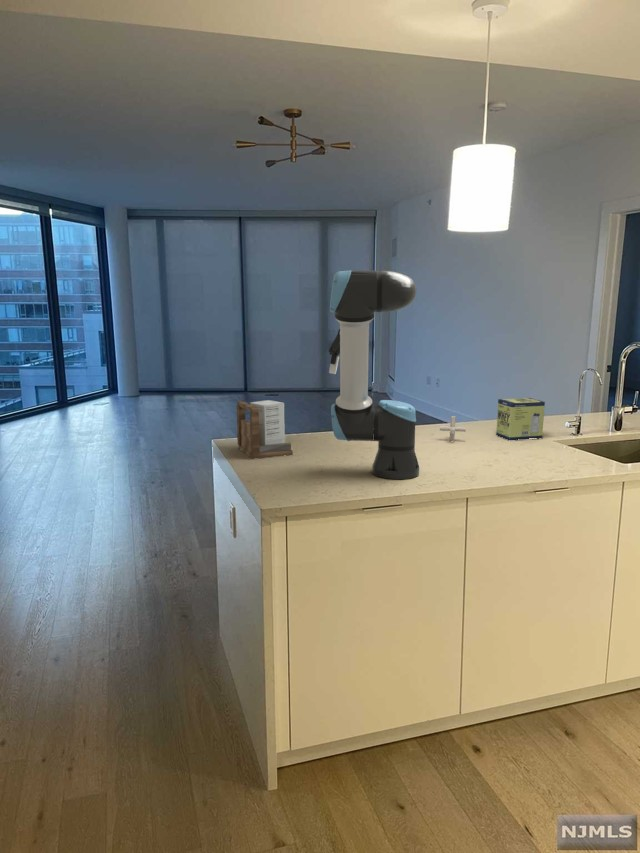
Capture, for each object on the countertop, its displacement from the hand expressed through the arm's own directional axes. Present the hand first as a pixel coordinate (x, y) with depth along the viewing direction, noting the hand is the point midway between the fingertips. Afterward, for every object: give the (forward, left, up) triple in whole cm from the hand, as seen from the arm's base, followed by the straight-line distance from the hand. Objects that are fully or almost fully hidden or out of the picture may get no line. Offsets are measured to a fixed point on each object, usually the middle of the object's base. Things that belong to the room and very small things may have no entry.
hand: (342, 376), depth 223 cm
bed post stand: (+6, +29, -27) cm, 40 cm away
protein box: (-13, -75, -28) cm, 81 cm away
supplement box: (+6, +28, -26) cm, 39 cm away
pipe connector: (-8, -45, -28) cm, 53 cm away
